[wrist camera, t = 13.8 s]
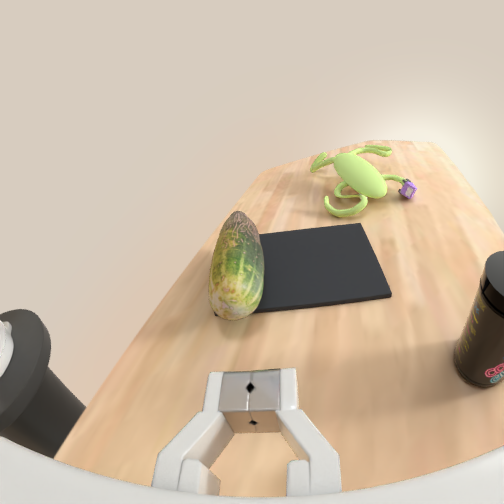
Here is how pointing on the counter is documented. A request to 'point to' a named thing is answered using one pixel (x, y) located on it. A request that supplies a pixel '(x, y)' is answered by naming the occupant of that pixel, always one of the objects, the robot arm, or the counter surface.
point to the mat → (319, 268)
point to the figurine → (360, 178)
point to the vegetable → (236, 269)
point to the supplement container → (484, 329)
